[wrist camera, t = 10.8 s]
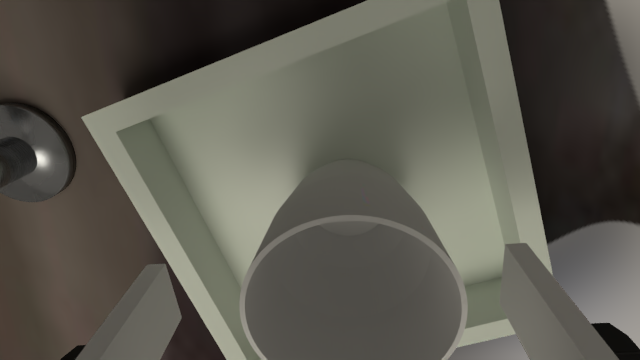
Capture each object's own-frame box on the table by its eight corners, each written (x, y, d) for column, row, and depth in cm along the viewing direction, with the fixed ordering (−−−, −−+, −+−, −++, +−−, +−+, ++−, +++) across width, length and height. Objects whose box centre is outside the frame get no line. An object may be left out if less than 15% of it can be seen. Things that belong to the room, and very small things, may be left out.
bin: (124, 100, 23) (81, 117, 19) (461, -37, 19) (489, -50, 15) (260, 347, 29) (248, 395, 25) (530, 278, 25) (562, 323, 22)
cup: (252, 194, 24) (193, 307, 14) (354, 101, 21) (362, 166, 12) (344, 279, 26) (343, 426, 16) (447, 203, 23) (515, 326, 14)
